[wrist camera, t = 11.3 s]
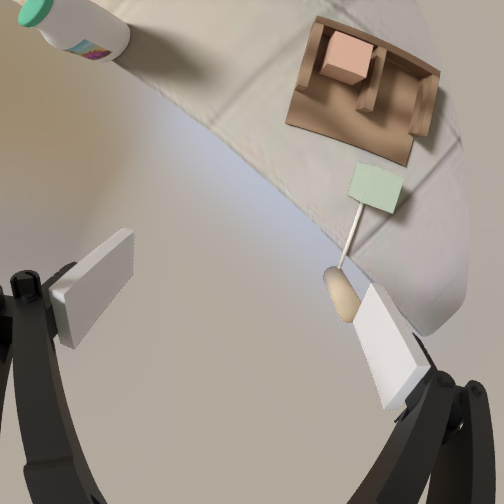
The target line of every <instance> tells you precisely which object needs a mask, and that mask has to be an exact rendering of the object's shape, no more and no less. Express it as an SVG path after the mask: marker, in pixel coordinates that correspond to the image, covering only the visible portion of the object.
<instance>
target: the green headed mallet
mask: <svg viewBox="0 0 504 504" xmlns="http://www.w3.org/2000/svg"><path fill="white" fill-rule="evenodd" d="M403 181H404V178H402V177H400V176H397V175H395V174H393V173H390V172H388V171H385V170H383V169H381V168H378V167H376V166H373V165H368V164H363V163H357V166H356V169H355V172H354V176H353V179H352V182H351V185H350V189H349V192H348V195H349V196H351V197H353V198H354V199H356V200H358V201H360V205H359V208H358V211H357V214H356V217H355V219H354V222H353V225H352V228H351V231H350V234H349V237H348V239H347V242H346V245H345V247H344V250H343V253H342V256H341V258H340V261H339V263H338V266H337V267H336V266H333V267H329V268H328V269H327V270H326V271H325V272H324V274H323V280H324V282H325V284H326V287H327V289H328V291H329V294H330V296H331V298H332V301H333V303H334V305H335V308H336V310H337V312H338V315H339V317H340V319H341V320H342V321H343V322H346V323H351V322H353V320H354V318H355V316H356V314H357V312H358V310H359V307H360V305H361V301H360V299H359V297H358V296H357V294H356V292H355V291H354V289H353V287H352V286H351V284H350V282H349V281H348V279H347V278H346V276H345V275H344V273H343V271H342V270H341V266H342V264H343V261H344V258H345V256H346V253H347V250H348V248H349V245H350V242H351V240H352V237H353V234H354V231H355V229H356V226H357V223H358V220H359V217H360V214H361V211H362V208H363V205H364V203H365V204H368V205H370V206H373V207H376V208H379V209H381V210H384V211H387V212H389V213H392V214H393V212H394V209H395V206H396V203H397V200H398V197H399V194H400V191H401V187H402V184H403Z"/></svg>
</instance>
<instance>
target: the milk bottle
mask: <svg viewBox="0 0 504 504" xmlns="http://www.w3.org/2000/svg"><path fill="white" fill-rule="evenodd" d="M18 21H19V24H20V25H22V26H24V27H30V28H32V29H34V28H37V29H39V30H40V31H41V33H42V34H43V36H44V38H45V39H46V40H47V42H48V43H50V44H51V45H52V46H54V47H56V48H58V49H61V50H64V51H67V52H70V53H73V54H76V55H79V56H82V57H85V58H88V59H91V60H94V61H97V62H107V61H111V60H113V59H115V58H116V57H118V56H119V55H120V54H121V53H122V52H123V51H124V50H125V48H126V47H127V45H128V43H129V40H130V29H129V27H128V25H127V24H125V23H124V22H123V21H122V20H120V19H119V18H117V17H116V16H114V15H113V14H111V13H110V12H108V11H107V10H105V9H104V8H102V7H100V6H99V5H97V4H95V3H93V2H91V1H89V0H27V1H26V3H25V4H24V5H23V7H22V9H21V11H20V14H19V18H18Z"/></svg>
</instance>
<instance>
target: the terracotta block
mask: <svg viewBox="0 0 504 504" xmlns="http://www.w3.org/2000/svg"><path fill="white" fill-rule="evenodd" d="M372 49H373V45H371V44H369V43H366V42H364V41H361V40H359V39H356V38H354V37H351V36H348V35H346V34H343V33H340V32H337V31H335V33H334V34H333V36H332V37H331V38H330V40H329V41H328V43H327V44H326V47H325V51H324V55H323V58H322V62H321V66H320V70H319V73H318V74H321V75H324V76H327V77H330V78H333V79H336V80H339V81H342V82H344V83H347V84H350V85H354V84H355V83H357V82H359V81H361V80H363V79H364V78H366V75H367V71H368V67H369V63H370V58H371V54H372Z"/></svg>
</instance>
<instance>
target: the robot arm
mask: <svg viewBox="0 0 504 504" xmlns="http://www.w3.org/2000/svg"><path fill="white" fill-rule="evenodd" d="M134 234H135V231H134V230H130V229H126V228H122V229H120V230H119V231H118V232H116V233H115V234H114V235H112V236H111V237H110V238H108V239H107V240H106V241H105V242H103V243H102V244H101V245H99V246H98V247H97V248H96V249H94V250H93V251H92V252H91V253H90V254H88V255H87V256H86V257H85V258H83V259H82V260H81V261H80V262H79V263H77V262H72V263H70V264H67V265H65V266H64V267H63V268H61V269H60V270H59V272H57V273H55V274H54V276H52V277H51V278H49V279H48V280H47V281H46V282H45V283H44V284H42V285H41V282H40V277H39V274H38V273H37V272H35V271H32V270H24V271H20V272H18V273H16V274H14V275H13V276H12V277H11V279H10V283H11V288H12V292H13V296H7V295H4V294H3V290H2V287H1V286H0V430H1V420H2V412H3V404H4V397H5V390H6V386H7V380H8V375H9V370H10V365H11V361H12V357H13V376H14V387H15V398H16V406H17V413H18V420H19V425H20V431H21V436H22V441H23V446H24V451H25V455H26V459H27V464H26V465H25V466H24V470H23V472H24V477H25V480H26V484H27V487H28V490H29V494H30V497H31V500H32V502H33V504H107V502H106V500H105V499H104V497H103V495H102V494H101V492H100V490H99V489H98V487H97V485H96V483H95V481H94V478H93V476H92V474H91V471H90V469H89V467H88V464H87V462H86V459H85V457H84V454H83V452H82V449H81V446H80V443H79V440H78V437H77V435H76V431H75V428H74V425H73V422H72V419H71V415H70V412H69V408H68V405H67V401H66V397H65V393H64V389H63V385H62V381H61V376H60V371H59V367H58V362H57V356H56V350H55V345H54V341H53V338H54V337H55V336H56V335H57V333H58V336H59V340H60V343H61V344H63V345H65V346H67V347H70V348H72V349H75V348H76V347H77V346H78V344H79V343H80V342H81V340H82V339H83V338H84V336H85V335H86V333H87V332H88V331H89V330H90V328H91V327H92V326H93V324H94V323H95V322H96V320H97V319H98V318H99V316H100V315H101V314H102V313H103V311H104V310H105V309H106V308H107V306H108V305H109V304H110V303H111V301H112V300H113V299H114V297H115V296H116V295H117V294H118V292H119V291H120V290H121V289H122V287H123V286H124V285H125V284H126V283H127V282H128V280H129V279H130V278H131V277H132V275H133V255H134ZM353 323H354V326H355V329H356V332H357V334H358V337H359V339H360V342H361V345H362V348H363V350H364V353H365V356H366V358H367V361H368V364H369V367H370V370H371V373H372V376H373V379H374V381H375V384H376V387H377V390H378V393H379V397H380V400H381V402H382V406H383V409H384V410H391V409H392V410H393V409H398V408H399V407H400V406H401V404H402V403H403V402H404V401H405V403H406V405H407V408H406V409H405V410H404V411H403V412H402V413H401V415H400V416H399V417H398V418H397V419H396V420H395V421H394V422H395V423H396V422H397V421H398V422H397V424H396V426H395V428H394V430H393V432H392V434H391V436H390V437H389V439H388V441H387V443H386V445H385V446H384V448H383V450H382V451H381V453H380V455H379V457H378V458H377V460H376V461H375V463H374V465H373V466H372V468H371V469H370V471H369V473H368V474H367V476H366V477H365V479H364V480H363V482H362V483H361V484H360V486H359V487H358V489H357V490H356V492H355V493H354V494H353V496H352V497H351V499H350V500H349V501H348V503H347V504H418V502H419V499H420V497H421V495H422V493H423V491H424V488H425V486H426V484H427V481H428V479H429V476H430V474H431V477H430V483H429V490H428V495H427V500H426V504H495V492H496V472H495V451H494V440H493V430H492V423H491V415H490V409H489V403H488V397H487V393H486V390H485V388H484V387H483V385H482V384H481V383H480V382H477V381H474V380H471V381H469V382H468V383H467V384H466V386H465V387H461V386H457V385H456V384H455V381H454V379H453V378H452V377H451V376H450V375H449V374H448V373H446V372H444V371H438V370H437V368H436V366H435V364H434V363H433V361H432V359H431V357H430V355H429V354H427V353H428V352H427V350H426V349H425V348H424V345H423V343H422V342H421V340H420V339H419V338H418V337H417V336H416V335H415V334H414V333H412V332H411V331H410V329H409V327H408V325H407V324H406V322H405V320H404V319H403V317H402V315H401V314H400V312H399V311H398V309H397V307H396V306H395V304H394V303H393V301H392V299H391V298H390V296H389V295H388V293H387V292H386V290H385V289H384V287H383V286H382V285H381V284H376V283H370V286H369V287H368V290H367V292H366V294H365V297H364V299H363V301H362V303H361V305H360V307H359V310H358V312H357V314H356V316H355V318H354V320H353ZM462 423H463V425H462V427H461V429H460V425H461V424H462Z"/></svg>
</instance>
